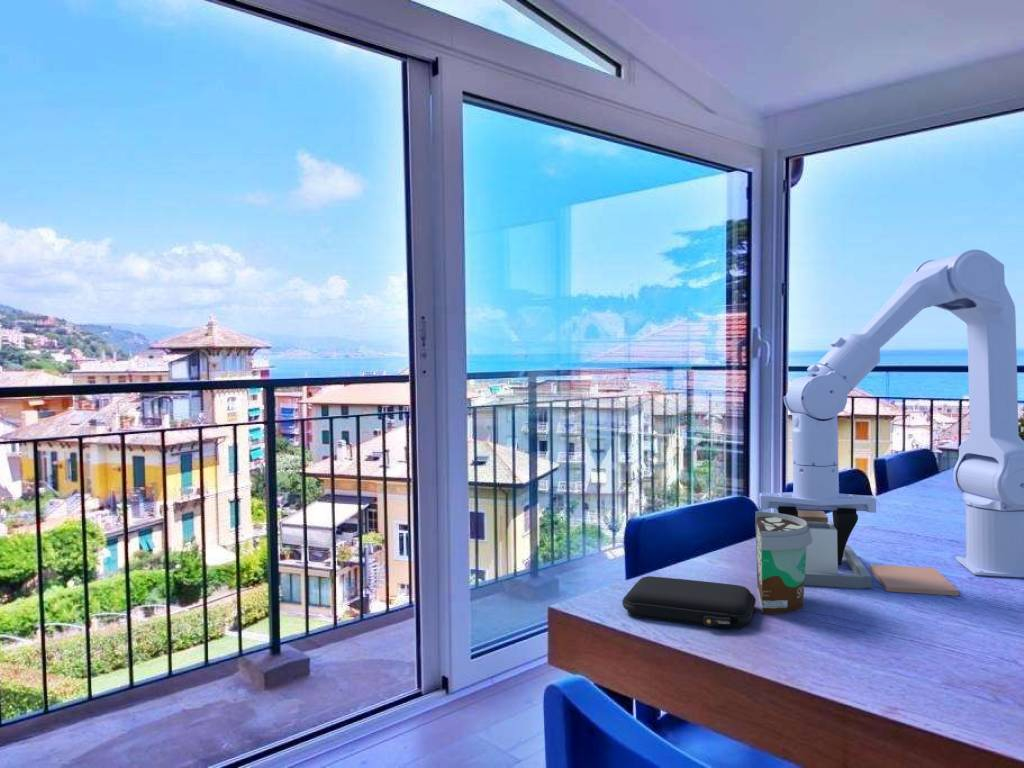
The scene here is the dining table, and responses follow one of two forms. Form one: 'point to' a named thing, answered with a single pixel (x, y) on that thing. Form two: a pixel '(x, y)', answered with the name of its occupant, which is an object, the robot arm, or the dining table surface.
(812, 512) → the walnut block
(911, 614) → the dining table surface
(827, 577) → the grey rectangular frame
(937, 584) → the terracotta mat
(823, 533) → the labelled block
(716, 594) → the carrying case or bag
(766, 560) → the food container
